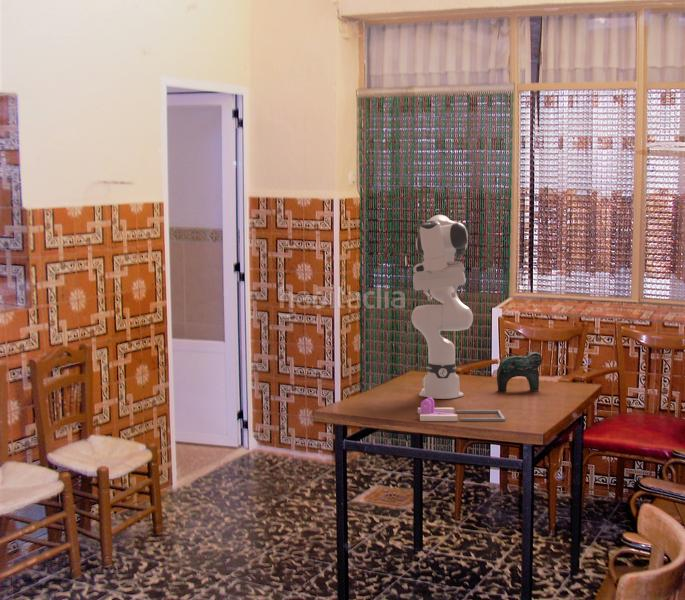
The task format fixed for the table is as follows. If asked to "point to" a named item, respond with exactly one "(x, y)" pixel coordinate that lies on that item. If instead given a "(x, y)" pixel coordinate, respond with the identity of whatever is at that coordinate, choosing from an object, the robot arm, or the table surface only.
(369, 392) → the table surface
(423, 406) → the bracket
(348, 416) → the table surface
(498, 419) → the cream grey rectangular frame
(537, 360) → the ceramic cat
